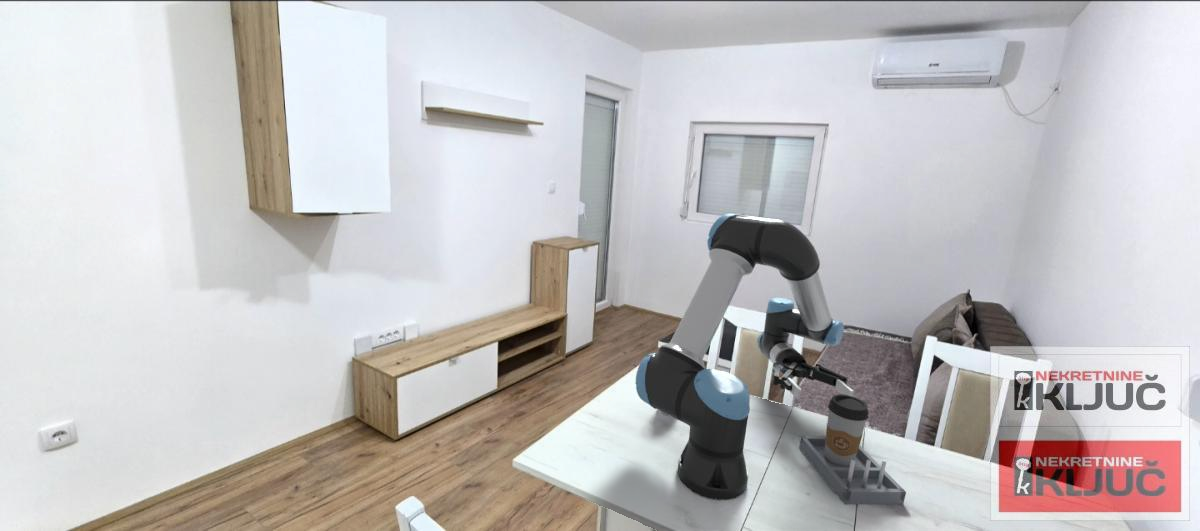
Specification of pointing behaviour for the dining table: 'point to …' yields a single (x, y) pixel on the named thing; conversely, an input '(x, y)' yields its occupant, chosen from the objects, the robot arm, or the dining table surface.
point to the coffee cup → (844, 429)
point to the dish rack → (854, 476)
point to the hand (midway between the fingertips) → (825, 395)
